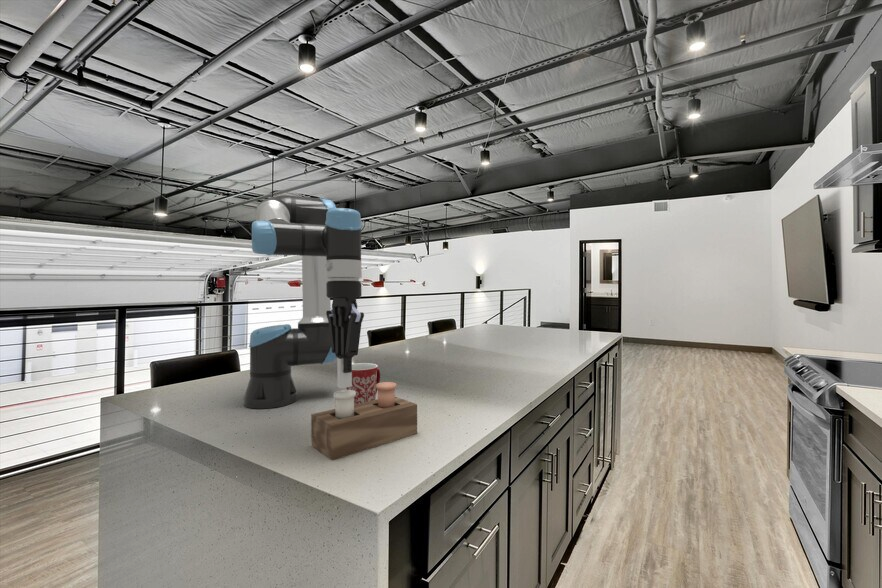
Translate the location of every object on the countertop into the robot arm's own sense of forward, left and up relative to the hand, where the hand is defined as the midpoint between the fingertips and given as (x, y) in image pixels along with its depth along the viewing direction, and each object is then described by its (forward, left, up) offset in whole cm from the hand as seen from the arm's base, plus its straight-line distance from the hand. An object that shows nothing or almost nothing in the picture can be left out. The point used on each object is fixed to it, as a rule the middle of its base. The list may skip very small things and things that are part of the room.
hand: (344, 386), depth 86 cm
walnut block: (0, +6, -13) cm, 14 cm away
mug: (-17, +16, -13) cm, 27 cm away
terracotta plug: (0, +11, -8) cm, 14 cm away
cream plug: (0, 0, -8) cm, 8 cm away
